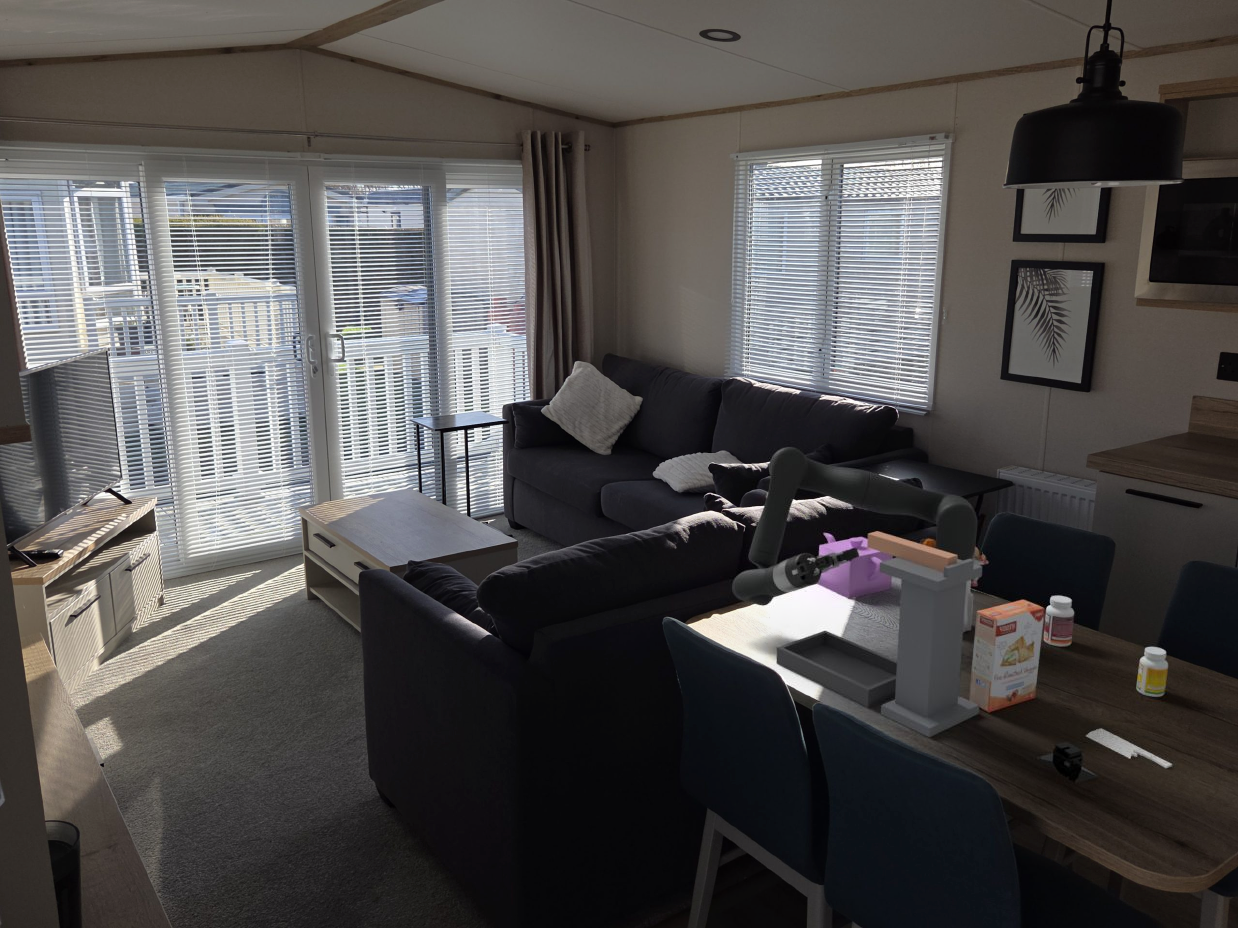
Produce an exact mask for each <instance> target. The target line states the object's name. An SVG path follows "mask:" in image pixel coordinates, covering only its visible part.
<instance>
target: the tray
mask: <svg viewBox="0 0 1238 928" xmlns="http://www.w3.org/2000/svg"><path fill="white" fill-rule="evenodd" d="M776 664H777V665H779V666H781V667H783V668H785V669H787V670H790V671H791V672H793V673H796V674H798V675H800V676H801V677H804V678H806V679H808V680H810V681H812V682H814V683H816V684H818V685H820V686H822V687H825V688H827V689H828V690H830V691H833V692H834V693H836V694H839V695H840V696H843V697H845V698H846V699H849V700H851V701H853V702H855V703H857V704H859V705H862V706H863V707H866V708H870V707H873V706H875V705H877V704H879V703H880V704H881V703H882V702H884V701H887V700H889V699H891V698H893V697H894V698H895V691H896V672H897V659H894V658H891V657H888V656H886V655H884V654H882V653H880V652H877V651H874V650H872V649H870V648H868V647H865V646H863V645H860V644H857V643H856V642H853V641H851V640H848V639H846V638H844V637H842V636H839V635H838V634H837V635H836V634H835V633H832V632H830V631H827V630H823V631H820V632H818V633H814V634H811V635H808V636H805V637H802V638H800V639H796V640H794V641H792V642H788V643H786V644H783V645H781V646H777V647H776Z"/></svg>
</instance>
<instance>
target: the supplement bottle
mask: <svg viewBox="0 0 1238 928" xmlns="http://www.w3.org/2000/svg"><path fill="white" fill-rule="evenodd" d="M1166 658H1167V651H1166V650H1165V649H1163V648H1161V647H1157V646H1147V647H1145V648H1144V656H1142V657H1141V658H1140V659H1139V663H1138V669H1137V670H1138V672H1137V680H1136V691H1137V692H1138V693H1140V694H1142V695H1144V696H1147V697H1153V698H1159V697H1162V696H1164V694H1165V693H1166V692H1165V691H1166V684H1167V677H1168V669H1169V663H1168V661H1167V660H1166Z"/></svg>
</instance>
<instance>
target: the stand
mask: <svg viewBox="0 0 1238 928" xmlns="http://www.w3.org/2000/svg"><path fill="white" fill-rule="evenodd" d="M879 572H881V573H884V574H887V575H890V576H892V578H893V577H894V578H896V579H899V580H901V586H900V599H899V600H900V603H899V604H900V605H899V619H898V620H899V622H898V638H897V639H898V641H897V654H896V655H897V657H896V661H897V672H896V691H895V696H894V699H892V700H891V701H888V702H885V703H883V704H882V705H880V707H881V708H880V715H882V716H884V717H887V718H888V719H891V720H892V721H895V722H897V723H898V724H900V725H903V726H905V727H906V728H909V729H911V730H913V731H915V732H917V733H919V734H921V735H924V737H925V736H926V737H927V738H931V737H933V736H936V735H937V734H939V733H941V732H943V731H945V730H947V729H950V728H952V727H954V726H956V725H958V724H960V723H962V722H964V721H967V720H968V719H971V718H973V717H974V716H977V715H979V711H980V707H979V705H978V704H976V703H974V702H971V701H969V699H967V698H964V697H961V696H959V694H960V693H959V691H960V678H961V677H960V675H961V674H960V673H961V666H962V665H961V664H962V663H961V661H962V650H963V649H962V647H963V638H964V637H963V635H964V632H963V623H964V609H965V595H966V581H969V580H971V581H973V579H975V578H978V577H979V578H981V577H982V576H983V566H982V565H980V566H979V565H976V564H974V560H972V559H967V560H964V561H963V560H959V559H957V563H955V564H952V565H949V566H946V567H944V572H943V571H940V570H937V569H934V568H930V567H927V566H924V565H921V564H918V563H915V562H912V561H909V560H905V559H902V558H899V557H896V556H895V557H894V558H893V559H890V560H886V561H883V562H880V571H879ZM980 576H981V577H980ZM979 578H978V579H979Z"/></svg>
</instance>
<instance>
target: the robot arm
mask: <svg viewBox="0 0 1238 928" xmlns="http://www.w3.org/2000/svg"><path fill="white" fill-rule="evenodd" d="M769 461H770V462H769V463H768V471H769V475H770V479H769V485H768V490H767V491H768V492H767V495H766V499H765V503H764V506H763V508H762V512H761V514H760V517H759V520H758V523H757V526H756V529H755V531H754V534H753V538H752V542H751V544H750V545H751V546H750V548H749V552H748V560H749V562H751V563H752V564H754V565H756V566H757V568H754V569H748V570H744V571H742V572H740V573H739V574H737V575H736V577H735V578H734V580H733V581H732V586H731V587H732V588H731V589H732V592H733V595H734V596H735V597H736V598H737V599H738V600H740V601H744V602H748V603H750V604H754V605H758V606H762V607H763V606H767V605H769V604H770V603H771V602H772V600H774V597H775V596H777V597H778V596H781V595H784V594H786V593H787V594H788V593H790V592H796V591H798V590H802V589H804V588H807V587H810V586H814V585H815V584H818V581H819V580H820V577H821V573H825V572H828V570H830V569H833V568H836V567H839V566H840V564H843V563H846V562H850V561H851V560H853V559H854V558H857V557H859V553H858V550H857V548H852V549H849V550H845V551H842V552H840V553H837V554H836V553H834V552H833V553H830V554H827V555H824V556H823V555H820V556H819V555H817V556H815V555H813V554H811V553H807V552H803V553H800V554H798V555H794V556H792V557H790V558H787V559H785V560H782V561H780V562H779V563H777V562H778V556H779V555H780V554H779V553H780V551H781V546H782V543H783V539H784V534H785V530H786V528H787V527H786V525H787V522H788V517H789V514H790V510H791V507H792V504H793V501H794V498H795V496H796V493H797V491H798V489H800V490H806V491H811V492H815V493H819V494H822V495H824V496H826V497H829V498H832V499H833V500H837V501H840V502H842V503H845V504H847V505H852V506H854V507H857V508H860V509H864V510H867V511H870V512H873V513H878V514H885V515H901V516H910V517H914V518H918V519H920V520H925V521H927V522H928V523H931V524H934V525H936V532H935V541H936V545H935V549H939V550H942V551H945V552H949V553H952V554H955V555H958V558H957V559H959V560H963V561H964V560H967V559H972V560H973V556H974V553H975V547H976V543H977V542H976V541H977V534H978V517H977V513H976V511H975V510H974V509H975V508H973V506H972V504H971V503H970V502H969V500H967V499H965V498H964V497H962V496H960V495H956V494H950V493H944V492H939V491H938V492H937V491H933V490H927V489H923V488H920V487H917V486H914V485H912V484H909V483H906V482H904V481H900V480H897V479H894V478H891V477H888V476H885V475H881V474H878V473H875V472H871V471H867V470H865V469H864V470H863V469H858V468H850V467H843V466H835V465H829V464H824V463H822V462H818V461H816V460H813V459H811V458H808V457H806V456H805V454H804V453H803V452H802V451H801V450H800V449H798V448H796V447H793V446H790V447H789V446H788V447H782V448H781V449H779V450H777V451H776V452H775V453H774V454H773V455H772V457H771V459H770V460H769ZM831 565H832V567H830V566H831ZM828 567H829V568H828ZM971 582H972V580H969V581H966V595H965V609H964V623H963V633H965V632H969V631H971V630H972V620H973V607H974V606H973V605H974V604H973V603H974V593H972V592H971V587H972V586H971Z"/></svg>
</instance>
